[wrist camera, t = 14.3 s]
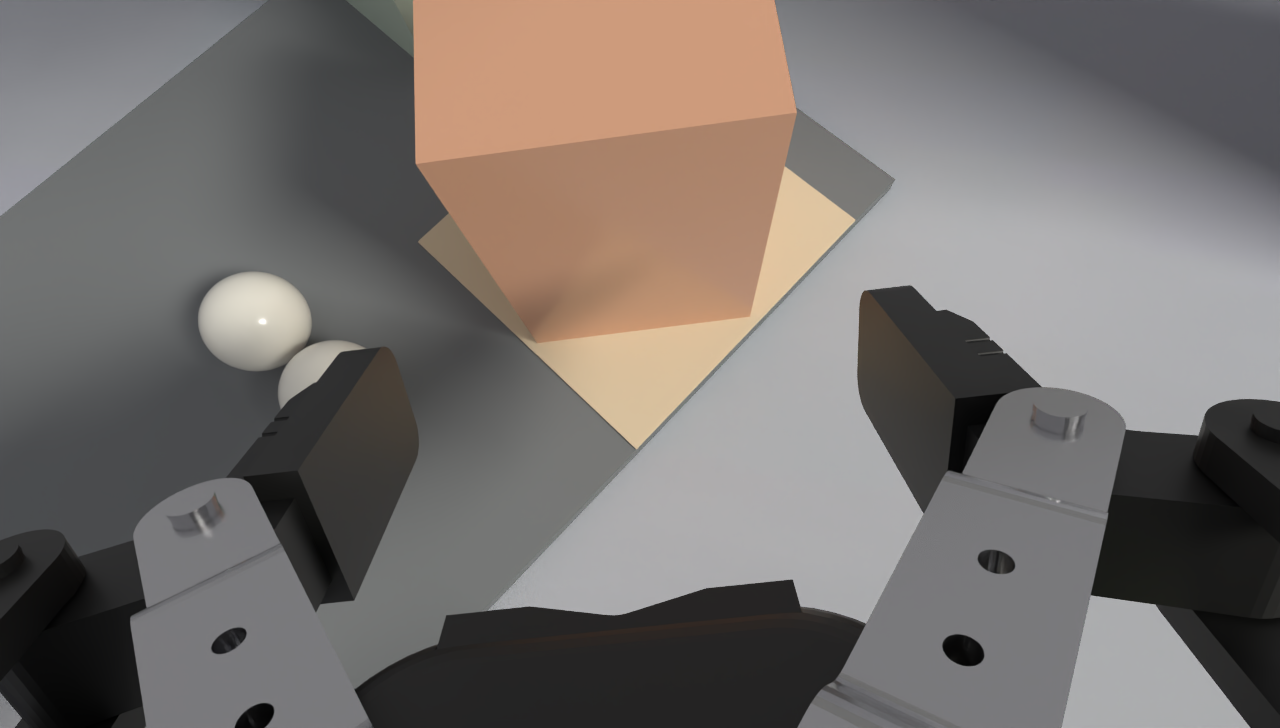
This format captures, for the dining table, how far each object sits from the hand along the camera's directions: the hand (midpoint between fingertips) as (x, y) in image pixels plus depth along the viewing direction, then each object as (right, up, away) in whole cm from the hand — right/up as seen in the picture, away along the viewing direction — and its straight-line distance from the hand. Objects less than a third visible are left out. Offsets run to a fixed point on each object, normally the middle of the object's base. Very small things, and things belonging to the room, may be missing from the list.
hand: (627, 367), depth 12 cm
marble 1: (-11, +1, +10) cm, 15 cm away
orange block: (0, +4, +10) cm, 11 cm away
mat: (-9, +3, +12) cm, 15 cm away
